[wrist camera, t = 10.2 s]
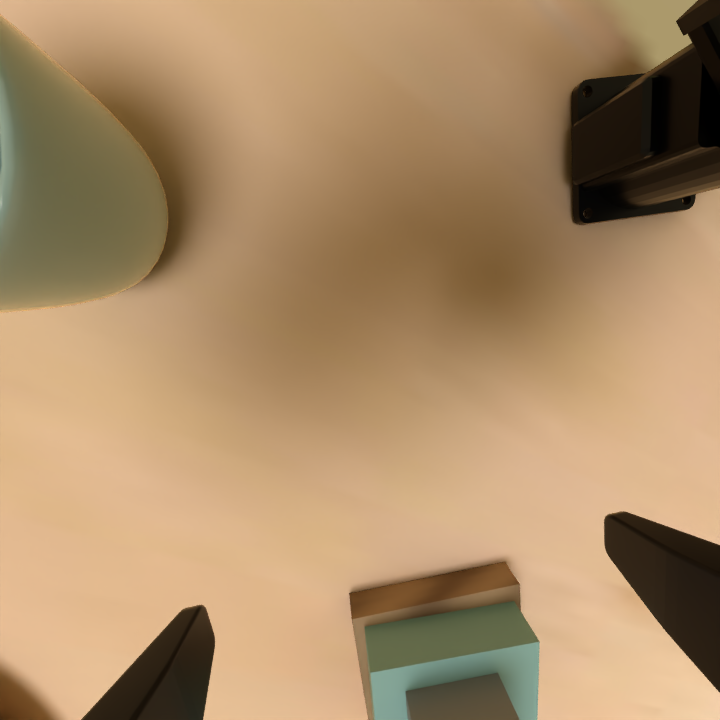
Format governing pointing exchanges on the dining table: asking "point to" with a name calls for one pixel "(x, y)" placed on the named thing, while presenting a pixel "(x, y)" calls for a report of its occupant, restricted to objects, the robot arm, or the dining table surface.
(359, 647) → the tower bottom
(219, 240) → the dining table surface
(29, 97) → the cup
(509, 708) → the grey cube
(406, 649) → the tower top
